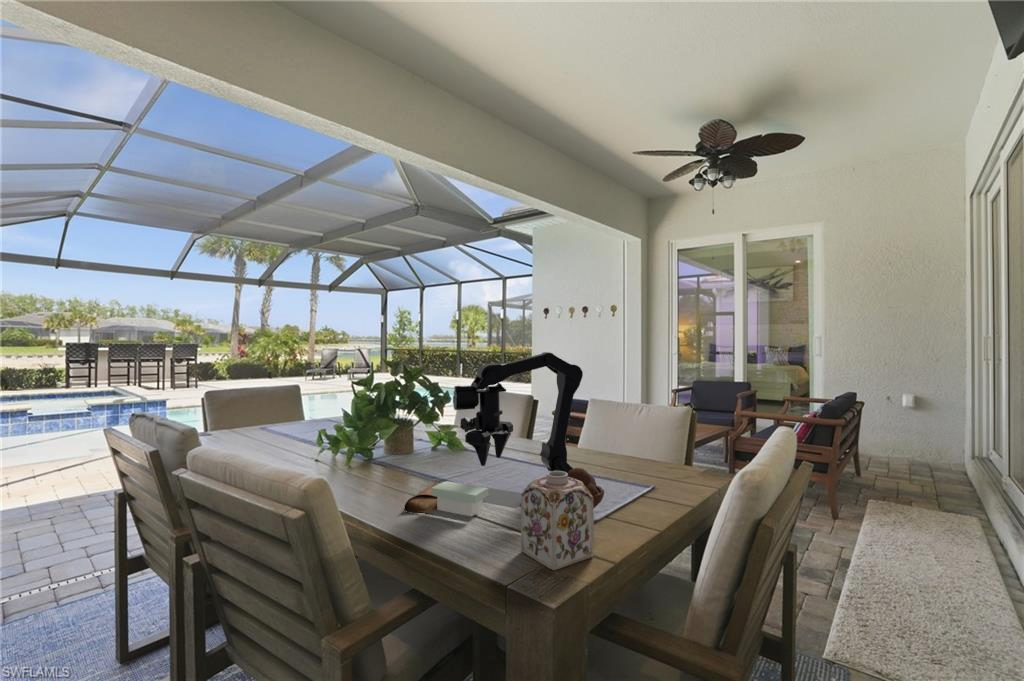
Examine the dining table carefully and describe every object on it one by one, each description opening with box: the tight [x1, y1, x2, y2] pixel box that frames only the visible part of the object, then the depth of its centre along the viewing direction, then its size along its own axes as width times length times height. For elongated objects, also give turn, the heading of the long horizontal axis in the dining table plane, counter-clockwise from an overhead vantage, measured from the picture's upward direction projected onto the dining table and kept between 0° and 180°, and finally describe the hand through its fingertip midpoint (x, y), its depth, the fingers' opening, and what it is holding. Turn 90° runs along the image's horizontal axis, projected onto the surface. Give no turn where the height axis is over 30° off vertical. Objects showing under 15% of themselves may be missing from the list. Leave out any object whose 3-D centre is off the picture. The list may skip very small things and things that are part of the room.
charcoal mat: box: [480, 486, 522, 509], centre depth 144 cm, size 18×12×1 cm, turn 63°
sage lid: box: [431, 480, 489, 503], centre depth 133 cm, size 14×7×2 cm, turn 63°
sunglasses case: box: [404, 481, 438, 515], centre depth 140 cm, size 18×7×7 cm
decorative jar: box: [520, 471, 595, 571], centre depth 107 cm, size 12×12×18 cm
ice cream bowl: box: [567, 467, 605, 510], centre depth 122 cm, size 11×11×15 cm
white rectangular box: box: [436, 496, 484, 517], centre depth 133 cm, size 11×6×4 cm, turn 63°
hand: (490, 461), depth 141 cm, fingers open, 9 cm apart
